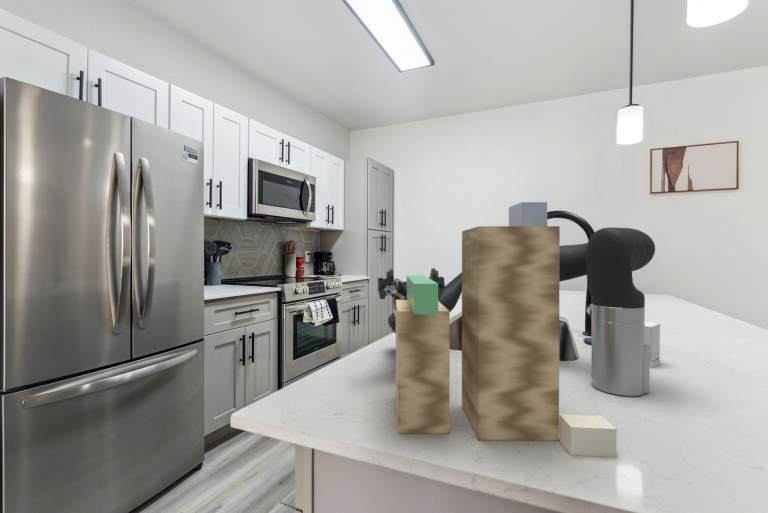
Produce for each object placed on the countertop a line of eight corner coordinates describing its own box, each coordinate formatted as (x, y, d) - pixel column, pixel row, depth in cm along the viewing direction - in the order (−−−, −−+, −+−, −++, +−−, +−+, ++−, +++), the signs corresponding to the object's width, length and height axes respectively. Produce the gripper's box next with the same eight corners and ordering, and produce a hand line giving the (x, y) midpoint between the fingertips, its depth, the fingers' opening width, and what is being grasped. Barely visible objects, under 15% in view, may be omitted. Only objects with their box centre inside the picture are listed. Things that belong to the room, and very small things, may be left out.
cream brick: (601, 442, 54) (601, 415, 53) (616, 457, 50) (616, 428, 50) (559, 440, 54) (559, 414, 54) (571, 455, 50) (571, 427, 50)
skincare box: (604, 358, 96) (604, 319, 96) (614, 354, 100) (615, 316, 100) (651, 369, 87) (651, 325, 87) (660, 364, 91) (661, 322, 91)
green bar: (423, 297, 73) (423, 275, 73) (438, 314, 53) (438, 283, 53) (406, 297, 73) (406, 275, 73) (414, 314, 53) (414, 283, 53)
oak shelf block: (527, 406, 66) (528, 231, 66) (558, 440, 54) (559, 226, 54) (461, 406, 66) (462, 231, 66) (478, 440, 54) (478, 226, 54)
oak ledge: (436, 397, 70) (436, 299, 70) (449, 433, 56) (449, 311, 56) (395, 397, 70) (395, 299, 70) (397, 433, 56) (397, 311, 56)
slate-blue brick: (531, 230, 63) (531, 207, 63) (547, 227, 57) (547, 202, 57) (508, 230, 63) (508, 207, 63) (521, 227, 57) (521, 202, 57)
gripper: (439, 318, 85) (449, 288, 71) (379, 319, 85) (377, 290, 71) (436, 289, 89) (446, 255, 75) (378, 290, 89) (377, 257, 75)
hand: (412, 272), depth 73 cm, fingers open, 8 cm apart
